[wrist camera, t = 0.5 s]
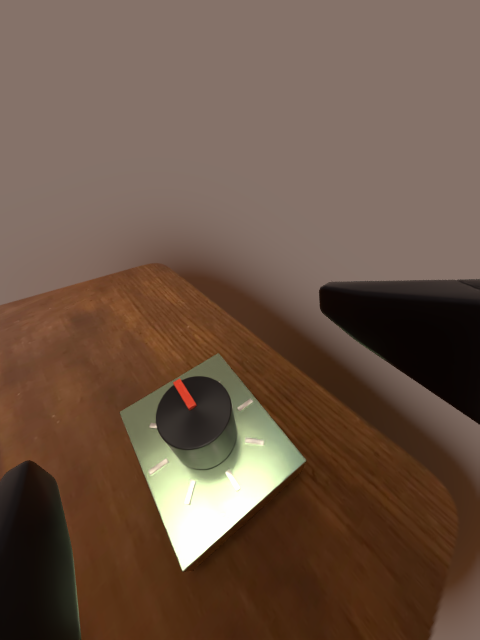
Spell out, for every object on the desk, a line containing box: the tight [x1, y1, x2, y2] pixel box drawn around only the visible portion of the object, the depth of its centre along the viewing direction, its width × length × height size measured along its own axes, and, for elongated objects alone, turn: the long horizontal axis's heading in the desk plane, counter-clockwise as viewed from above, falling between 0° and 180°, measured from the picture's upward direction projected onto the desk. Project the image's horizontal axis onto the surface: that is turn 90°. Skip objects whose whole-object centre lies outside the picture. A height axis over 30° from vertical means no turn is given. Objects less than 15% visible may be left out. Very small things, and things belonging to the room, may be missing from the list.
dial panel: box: [120, 353, 306, 572], centre depth 21 cm, size 12×10×3 cm
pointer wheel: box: [156, 376, 237, 470], centre depth 19 cm, size 5×5×5 cm
